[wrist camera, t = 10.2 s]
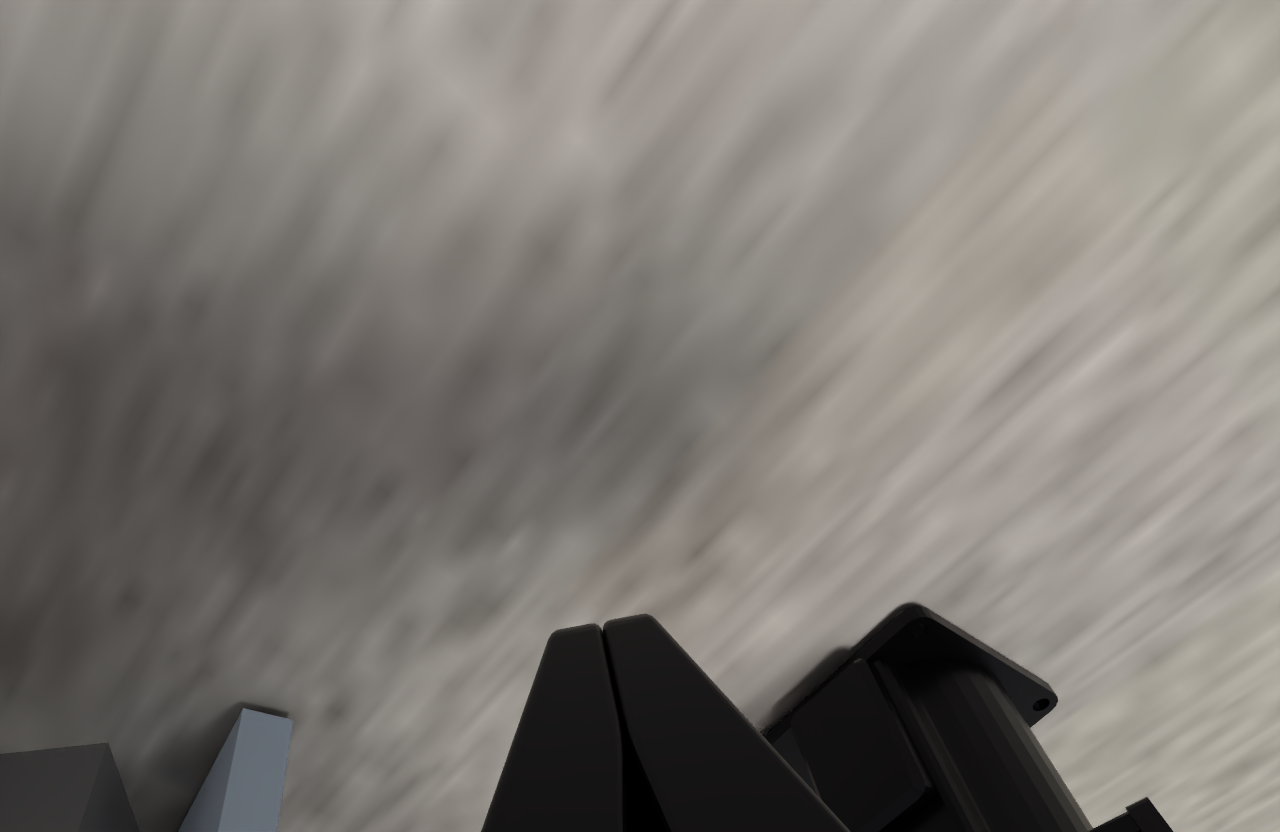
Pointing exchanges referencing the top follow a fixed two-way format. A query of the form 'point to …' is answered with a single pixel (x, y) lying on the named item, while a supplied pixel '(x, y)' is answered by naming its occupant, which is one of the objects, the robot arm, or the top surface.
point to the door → (244, 778)
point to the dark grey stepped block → (63, 791)
